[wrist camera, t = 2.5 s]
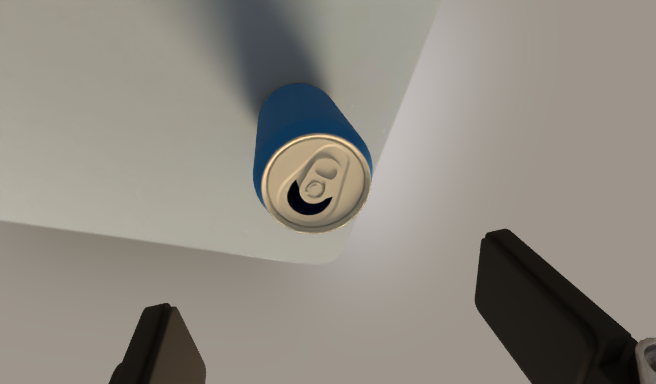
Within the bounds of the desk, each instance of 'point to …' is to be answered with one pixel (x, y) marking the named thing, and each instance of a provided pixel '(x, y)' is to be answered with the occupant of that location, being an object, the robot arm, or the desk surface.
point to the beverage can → (309, 161)
